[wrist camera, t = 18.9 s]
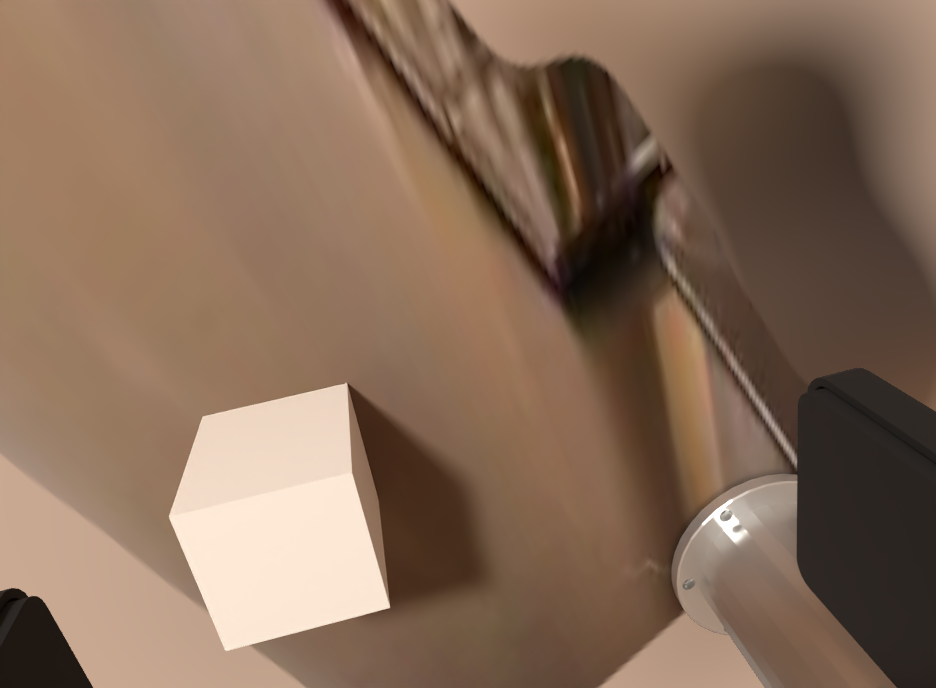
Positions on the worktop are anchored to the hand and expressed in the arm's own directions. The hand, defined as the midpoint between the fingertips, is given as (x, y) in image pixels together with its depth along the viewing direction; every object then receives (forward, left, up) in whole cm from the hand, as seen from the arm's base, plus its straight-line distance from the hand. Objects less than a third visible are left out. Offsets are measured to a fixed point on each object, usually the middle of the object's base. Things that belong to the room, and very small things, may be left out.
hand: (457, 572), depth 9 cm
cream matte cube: (+7, +14, -28) cm, 32 cm away
